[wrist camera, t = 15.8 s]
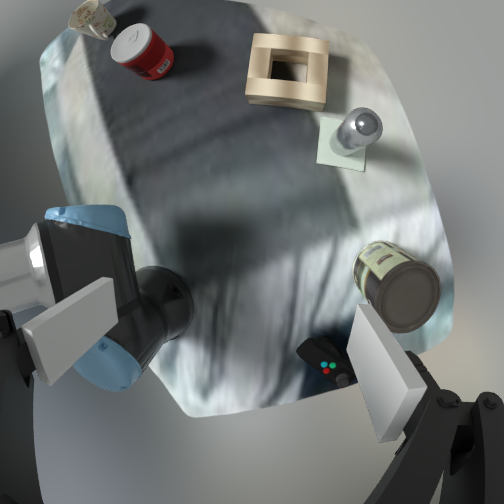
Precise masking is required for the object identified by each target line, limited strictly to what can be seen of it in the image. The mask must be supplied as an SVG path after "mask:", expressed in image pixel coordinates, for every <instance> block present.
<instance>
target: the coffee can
mask: <svg viewBox="0 0 504 504" xmlns="http://www.w3.org/2000/svg"><path fill="white" fill-rule="evenodd" d="M352 276H353V280H354V283H355V285H356V286H357V288H358V289H359V290H360V291H361V293H362V294H363V296H364V297H365V299H366V300H367V302H368V303H369V305H372V307H373V308H374V309H375V311H376V312H377V313H378V315H379V316H380V318H381V319H382V320H383V322H384V323H385V325H386V326H387V327H388V329H389V330H390V331H391V332H394V333H408V332H411V331H414V330H416V329H418V328H419V327H421V326H422V325H423V324H425V323H426V322H427V321H428V320H429V319H430V317H431V316H432V315H433V313H434V312H435V310H436V308H437V306H438V303H439V300H440V295H441V284H440V279H439V277H438V275H437V273H436V271H435V270H434V269H433V268H432V267H431V266H430V265H428V264H426V263H424V262H421V261H419V260H418V259H416V258H415V257H413V256H411V255H410V254H408V253H406V252H405V251H403V250H401V249H399V248H398V247H396V246H395V245H394V244H392V243H390V242H387V241H375V242H372V243H370V244H368V245H366V246H365V247H364V248H363V249H362V250H361V251H360V252H359V253H358V254H357V256H356V258H355V260H354V263H353V268H352Z"/></svg>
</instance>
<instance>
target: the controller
mask: <svg viewBox="0 0 504 504" xmlns="http://www.w3.org/2000/svg"><path fill="white" fill-rule="evenodd" d="M296 352H297V354H298V355H299V357H300V358H302V359H303V360H304V361H306V362H307V363H308V364H310V365H311V366H312V367H314V368H315V369H317V370H318V371H319V372H321V373H322V374H323V375H324V376H325V378H326V379H327V380H329V381H331V382H333V383H334V384H336V385H337V386H338V387H340V388H344V387H347V386H348V384H349V383H350V382H351V381H352V380H354V378H355V377H356V374H355V371H354V369H353V367H352V365H351V363H350V361H349V359H348V358H347V356H346V355H345V353H344V352H343V351H342V349H341V348H340V347H339V346H338V345H337V344H336V343H335V342H333V341H332V340H330V339H329V338H327V337H324V336H319V337H317V338H315V339H313V338H308V339H307V340H305V341H304V342H303V343H302V344H301V345H300V346H299V347H298V348H297V350H296Z"/></svg>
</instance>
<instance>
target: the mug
mask: <svg viewBox="0 0 504 504" xmlns="http://www.w3.org/2000/svg"><path fill="white" fill-rule="evenodd" d="M68 25H69V28H71V29H73V30H76V31H79V32H82V33H84V34H87V35H90V36H92V37H95V38H98V39H103V40H105V41H107V40H108V39H109V38H108V35H109V34H111V33H112V32H113V30H114V29H115V27H116V20H115V19H114V18H113V16H112V15H111V14H110V13H109V12H108V11H107V9H106V8H105V7H104V6H103V5H102V4H101V3H100V1H98V0H88V1H86V2H84V3H83V4H81V6H79V7H78V8H77V9H76V10H75V11H74V13H73V14H72V16H71V17H70V19H69V23H68Z"/></svg>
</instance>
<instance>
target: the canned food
mask: <svg viewBox="0 0 504 504" xmlns="http://www.w3.org/2000/svg"><path fill="white" fill-rule="evenodd" d="M111 56H112V58H113V59H114V60H115V61H116V62H118V63H119V64H121V65H123V66H124V67H126V68H127V69H129V70H131V71H132V72H134V73H135V74H137V75H139V76H140V77H142V78H143V79H146V80H156V79H159V78H161V77H162V76H164V75H165V74H166V73H167V72H168V71H169V70H170V69H171V67H172V65H173V62H174V55H173V51H172V50H171V49H170V48H169V47H168V45H167V44H166V43H165V42H164V41H163V40H162V39H161V38H160V37H159V36H158V35H157V34H156V33H155V32H154V31H153V30H152V29H151V28H150V27H149V26H147V25H146V24H142V23H139V24H134V25H131V26H129V27H128V28H126V29H125V30H123V31H122V32H121V33H120V34H119V35H118V36H117V38H116V39H115V41H114V43H113V45H112V48H111Z"/></svg>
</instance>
